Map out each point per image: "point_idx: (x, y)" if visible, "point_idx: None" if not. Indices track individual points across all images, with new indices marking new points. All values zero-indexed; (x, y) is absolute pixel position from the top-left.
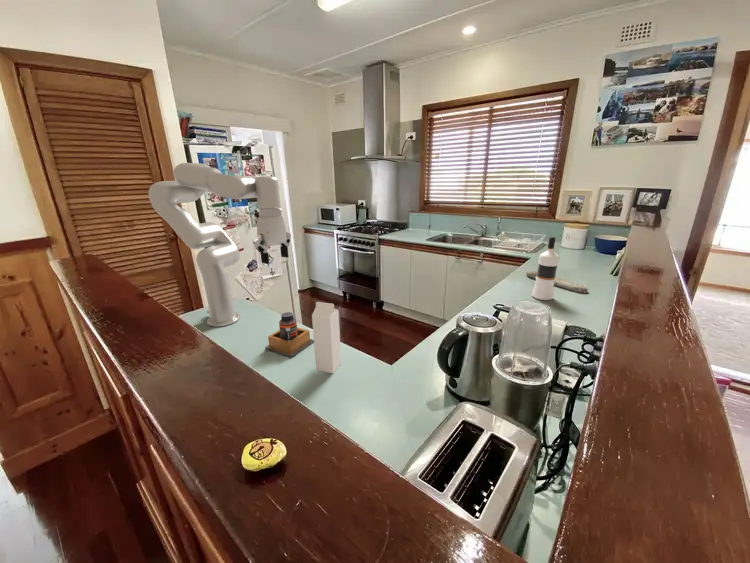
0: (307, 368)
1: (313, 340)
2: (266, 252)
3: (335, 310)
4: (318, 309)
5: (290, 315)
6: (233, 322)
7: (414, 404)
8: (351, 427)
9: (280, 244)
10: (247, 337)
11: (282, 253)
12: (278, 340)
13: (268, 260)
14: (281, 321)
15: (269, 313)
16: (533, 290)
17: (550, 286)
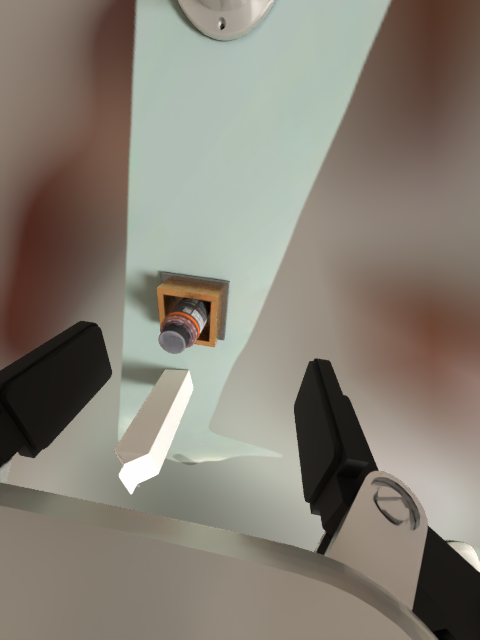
0: (162, 358)
1: (222, 339)
2: (24, 447)
3: (147, 476)
4: (123, 464)
5: (171, 352)
6: (220, 39)
7: (172, 448)
8: (121, 418)
9: (347, 511)
10: (178, 189)
11: (310, 398)
12: (159, 313)
13: (91, 391)
14: (163, 328)
15: (334, 120)
16: (468, 554)
17: None
